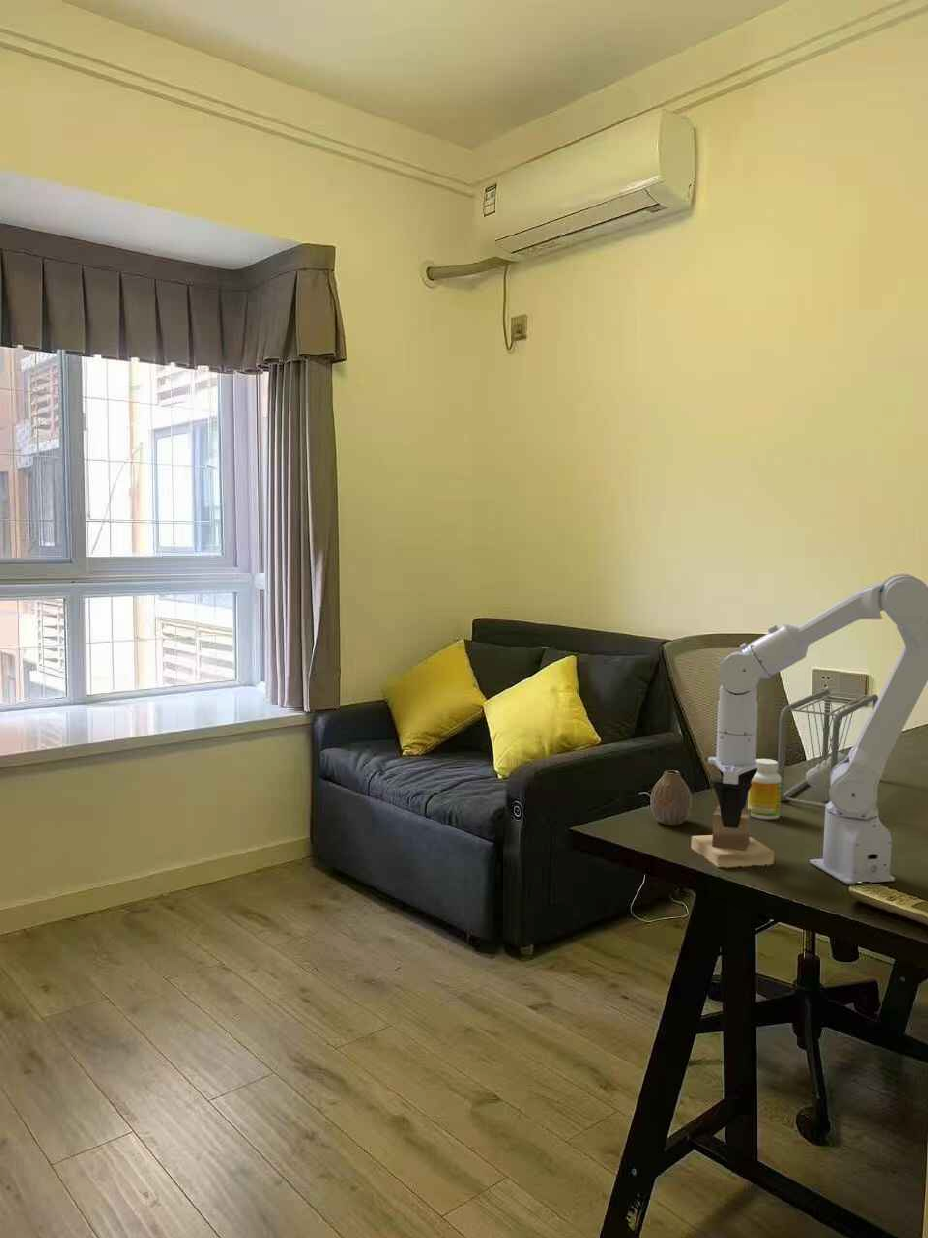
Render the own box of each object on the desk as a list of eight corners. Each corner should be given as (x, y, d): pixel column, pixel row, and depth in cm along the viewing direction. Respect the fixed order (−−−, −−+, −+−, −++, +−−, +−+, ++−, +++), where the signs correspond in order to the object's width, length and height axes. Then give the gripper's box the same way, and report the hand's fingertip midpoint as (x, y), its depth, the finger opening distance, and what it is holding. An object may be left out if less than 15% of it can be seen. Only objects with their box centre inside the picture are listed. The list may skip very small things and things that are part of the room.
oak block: (773, 868, 147) (774, 852, 146) (717, 871, 145) (718, 854, 145) (744, 849, 155) (744, 833, 155) (691, 851, 154) (691, 836, 153)
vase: (696, 820, 168) (698, 770, 168) (683, 831, 162) (685, 778, 162) (657, 814, 172) (659, 764, 171) (643, 824, 166) (645, 773, 165)
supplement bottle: (781, 821, 169) (784, 765, 168) (749, 819, 170) (751, 763, 169) (778, 812, 174) (780, 758, 173) (746, 810, 175) (748, 756, 174)
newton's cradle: (834, 813, 174) (839, 714, 173) (775, 803, 180) (779, 707, 179) (874, 780, 199) (879, 693, 197) (821, 771, 205) (826, 687, 203)
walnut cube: (746, 851, 147) (748, 818, 146) (712, 846, 148) (713, 814, 148) (749, 841, 151) (751, 809, 151) (716, 836, 153) (717, 805, 152)
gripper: (715, 721, 157) (712, 804, 158) (703, 738, 143) (700, 829, 144) (761, 724, 154) (757, 809, 155) (754, 743, 141) (750, 835, 142)
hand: (733, 819), depth 150 cm, fingers open, 7 cm apart
